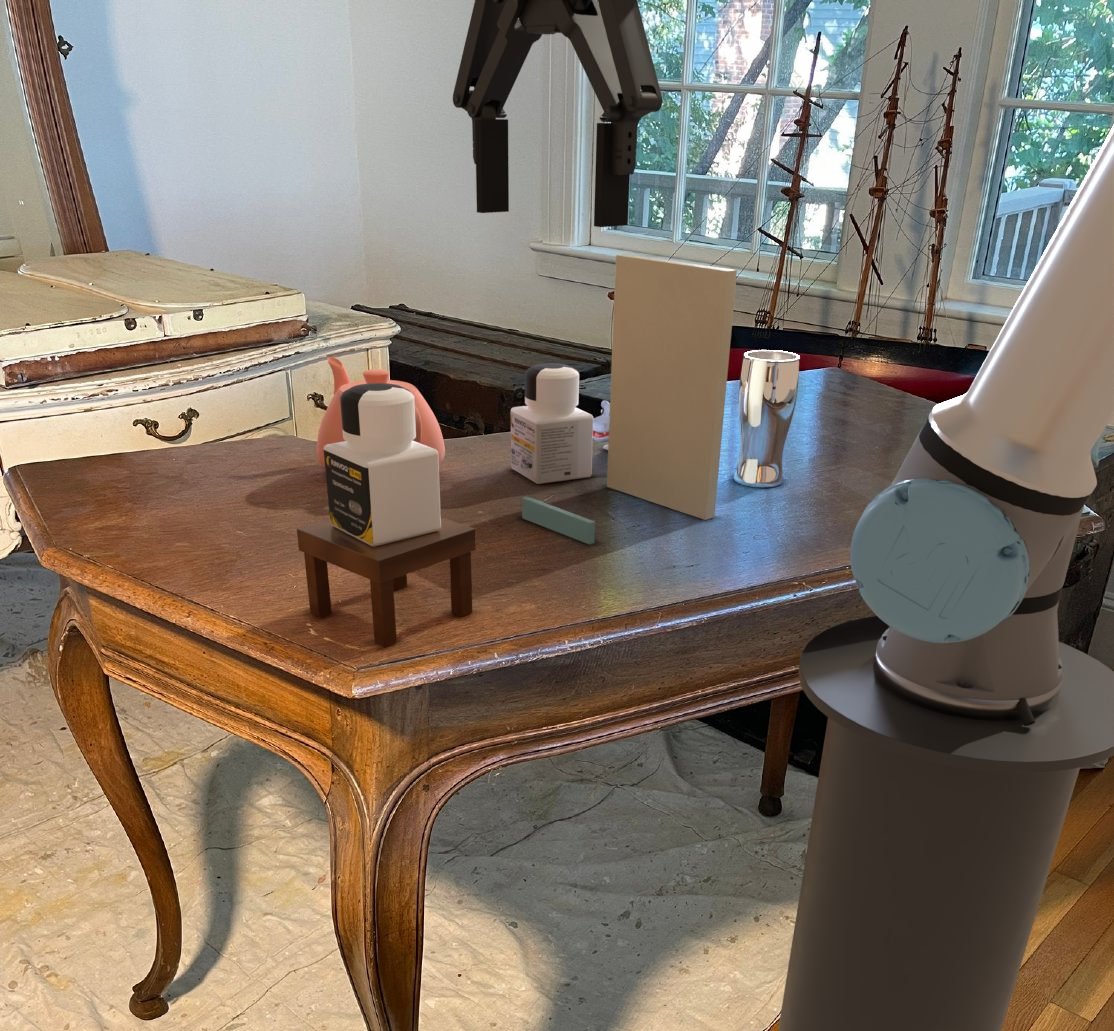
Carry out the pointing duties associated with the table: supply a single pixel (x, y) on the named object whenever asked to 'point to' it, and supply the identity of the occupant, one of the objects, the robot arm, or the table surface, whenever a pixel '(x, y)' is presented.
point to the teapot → (332, 419)
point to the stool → (386, 568)
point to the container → (551, 427)
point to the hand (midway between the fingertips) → (548, 219)
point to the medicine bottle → (381, 468)
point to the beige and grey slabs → (662, 389)
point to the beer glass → (765, 415)
